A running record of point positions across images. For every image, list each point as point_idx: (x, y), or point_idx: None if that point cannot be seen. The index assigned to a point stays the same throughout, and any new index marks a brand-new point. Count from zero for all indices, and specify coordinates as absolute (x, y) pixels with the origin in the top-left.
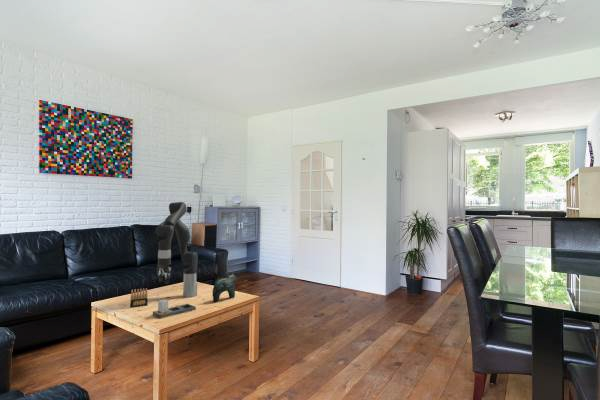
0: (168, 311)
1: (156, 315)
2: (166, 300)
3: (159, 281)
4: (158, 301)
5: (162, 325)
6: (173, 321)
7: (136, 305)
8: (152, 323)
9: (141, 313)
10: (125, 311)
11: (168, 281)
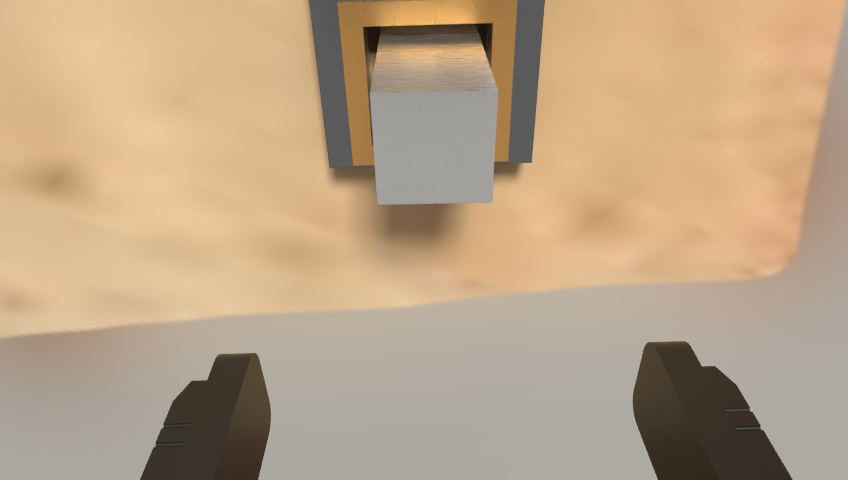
0: (465, 23)
1: None
2: (459, 108)
3: (267, 425)
4: (387, 199)
5: (729, 219)
6: (734, 89)
7: None
8: (597, 256)
9: (202, 212)
10: (36, 291)
11: (735, 425)
